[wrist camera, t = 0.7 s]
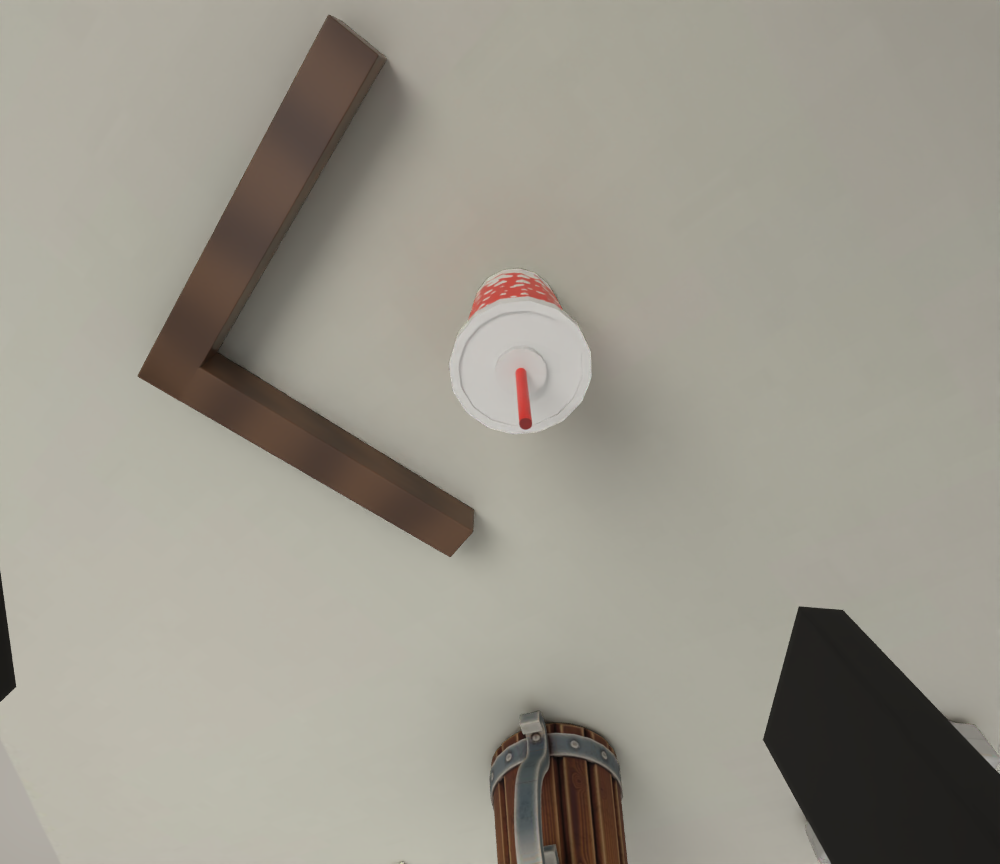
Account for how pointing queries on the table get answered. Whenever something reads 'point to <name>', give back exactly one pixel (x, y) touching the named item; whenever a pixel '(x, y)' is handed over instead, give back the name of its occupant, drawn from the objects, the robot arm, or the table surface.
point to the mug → (557, 796)
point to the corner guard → (234, 274)
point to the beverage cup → (519, 356)
